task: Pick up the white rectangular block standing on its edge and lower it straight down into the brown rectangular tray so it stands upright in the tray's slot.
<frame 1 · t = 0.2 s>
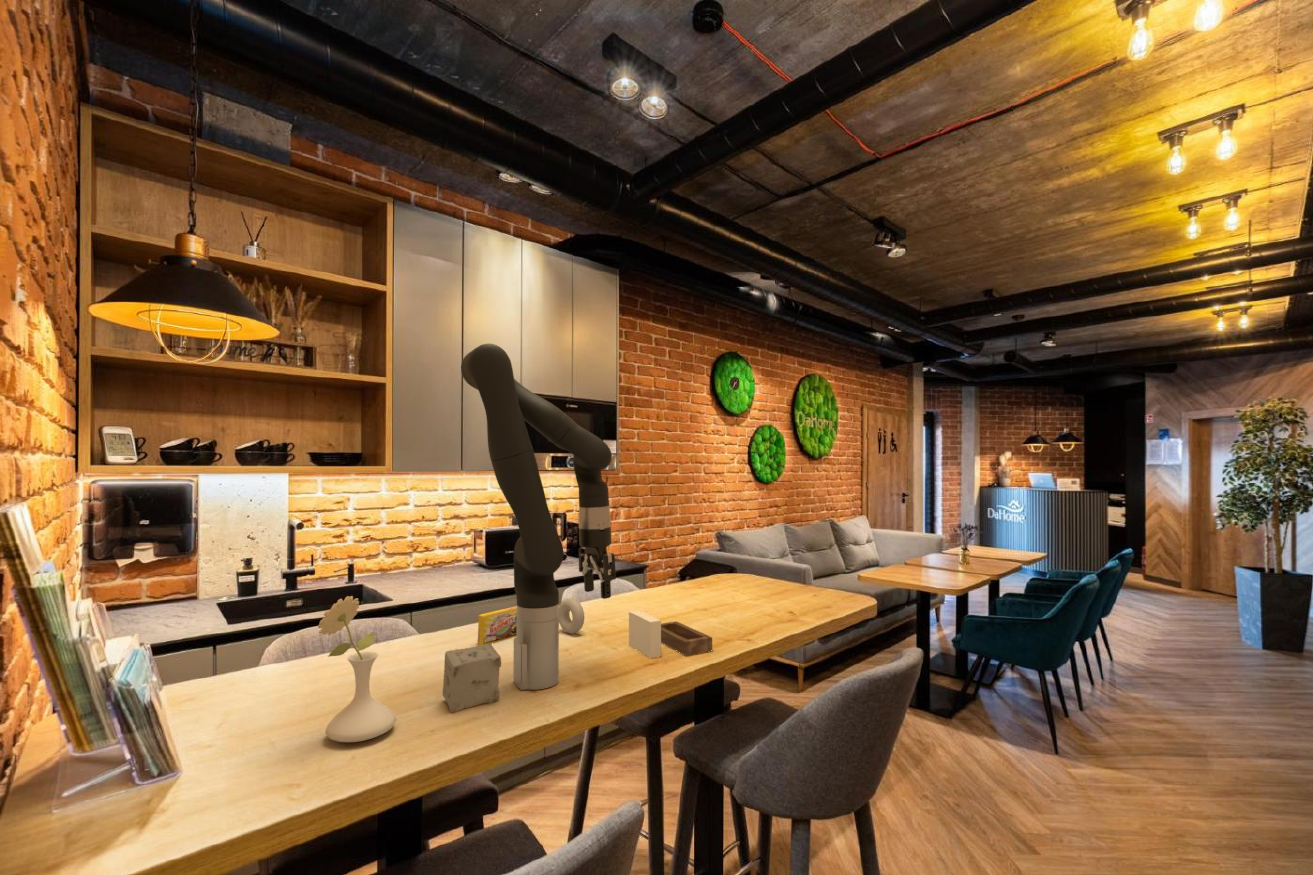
hand: (597, 594, 139), 18 cm above the table, tool pointing down, fingers open, 8 cm apart
candy box: (504, 640, 163), on the table
donut: (570, 634, 168), on the table
white rectangular block: (644, 651, 153), on the table
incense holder: (471, 703, 120), on the table
flower in vase: (356, 737, 105), on the table
brown rectangular tray: (680, 644, 158), on the table
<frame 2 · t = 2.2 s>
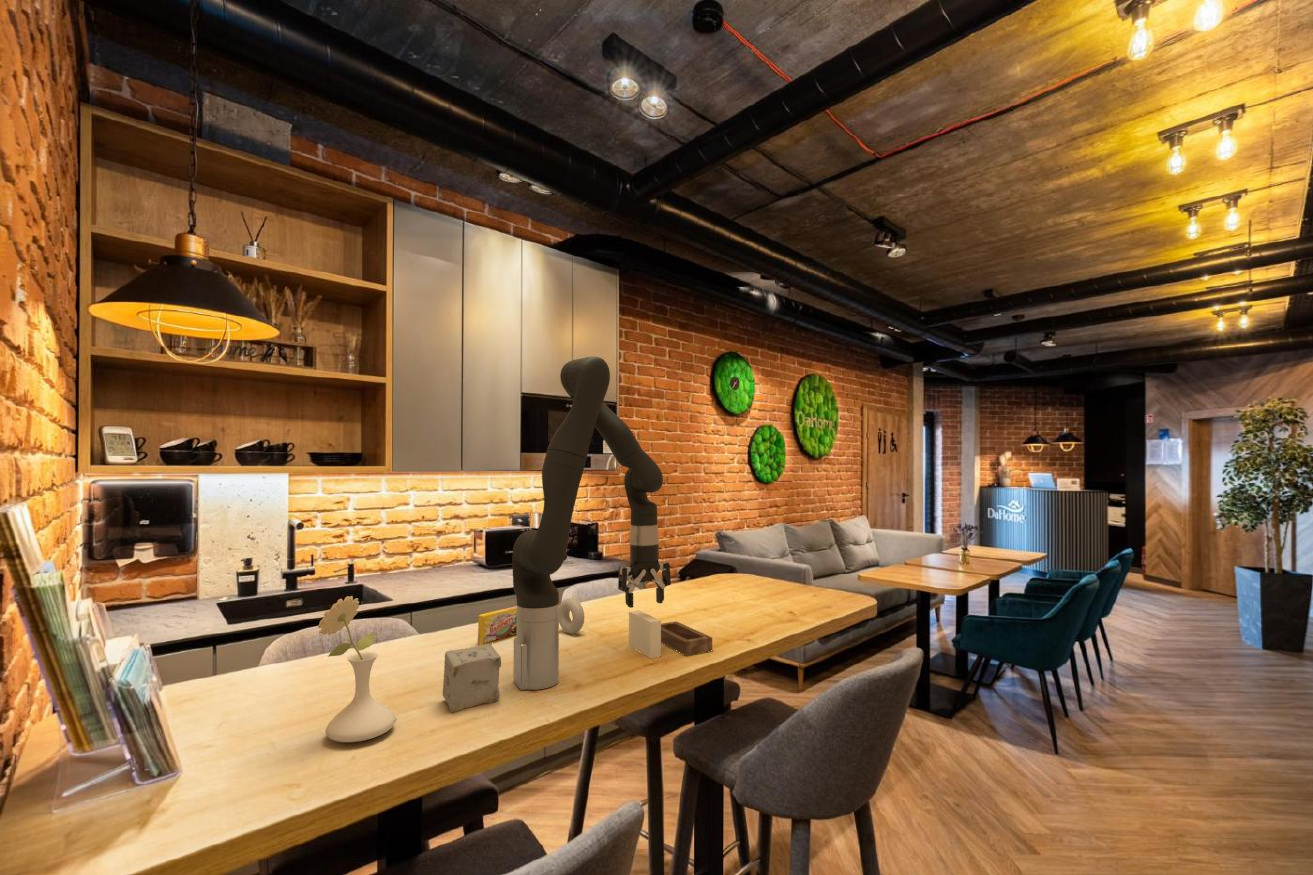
hand: (645, 604, 153), 12 cm above the table, tool pointing down, fingers open, 8 cm apart
nothing on the table moved.
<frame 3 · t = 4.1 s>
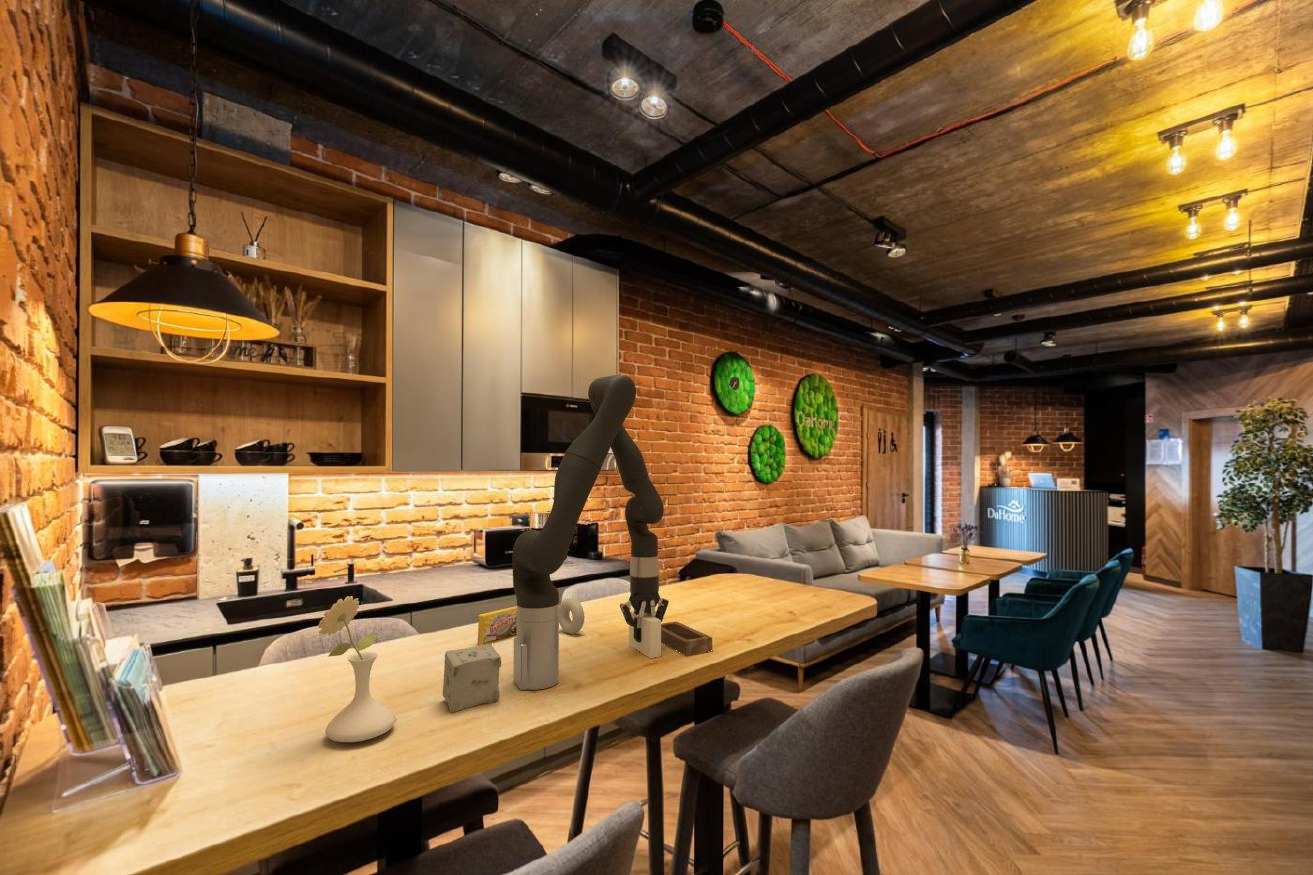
hand: (644, 640, 153), 3 cm above the table, tool pointing down, fingers closed on white rectangular block, 3 cm apart
white rectangular block: (644, 650, 153), on the table, touching gripper
everything else where it was.
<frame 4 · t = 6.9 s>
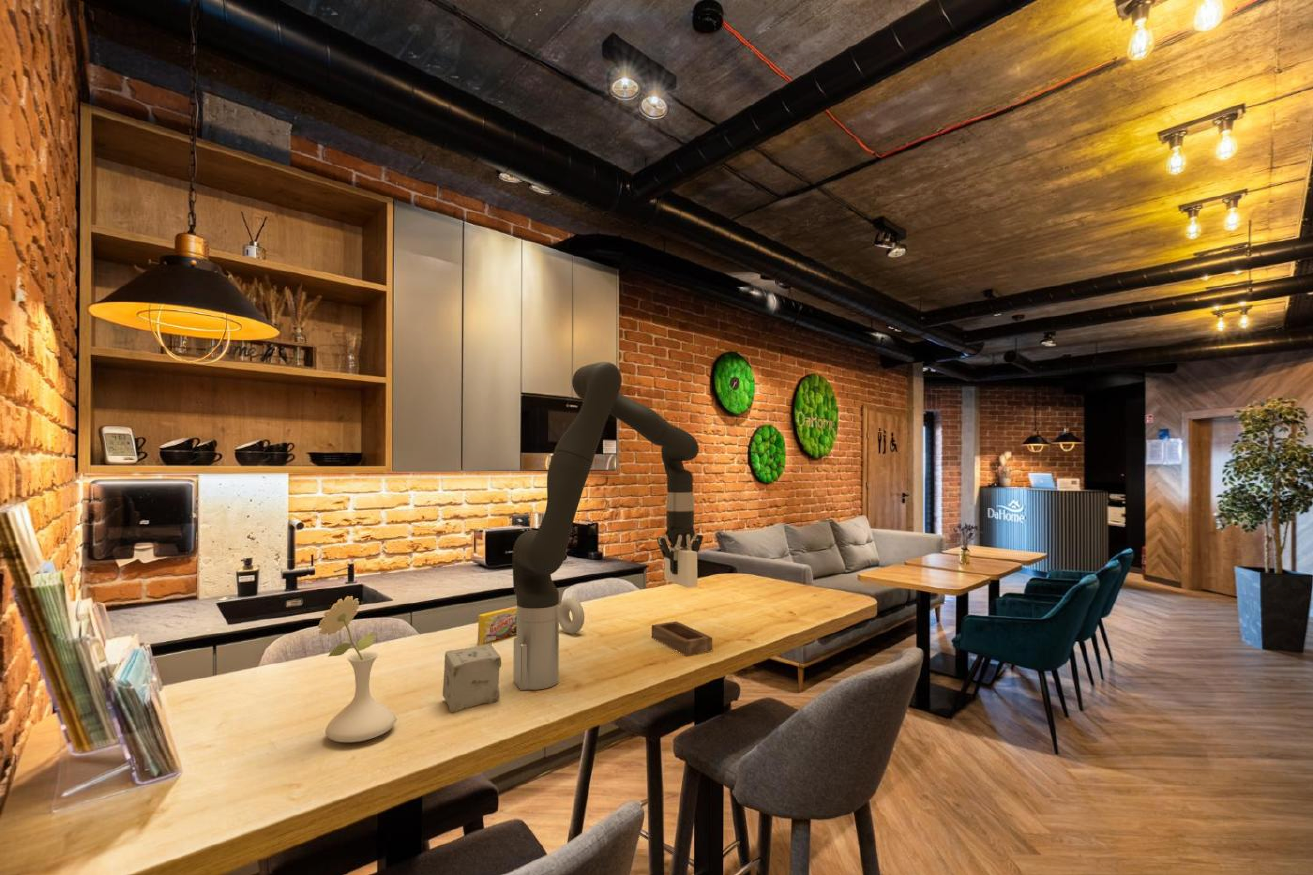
hand: (680, 573, 159), 19 cm above the table, tool pointing down, fingers closed on white rectangular block, 3 cm apart
white rectangular block: (680, 583, 159), point 16 cm above the table, touching gripper
everything else where it was.
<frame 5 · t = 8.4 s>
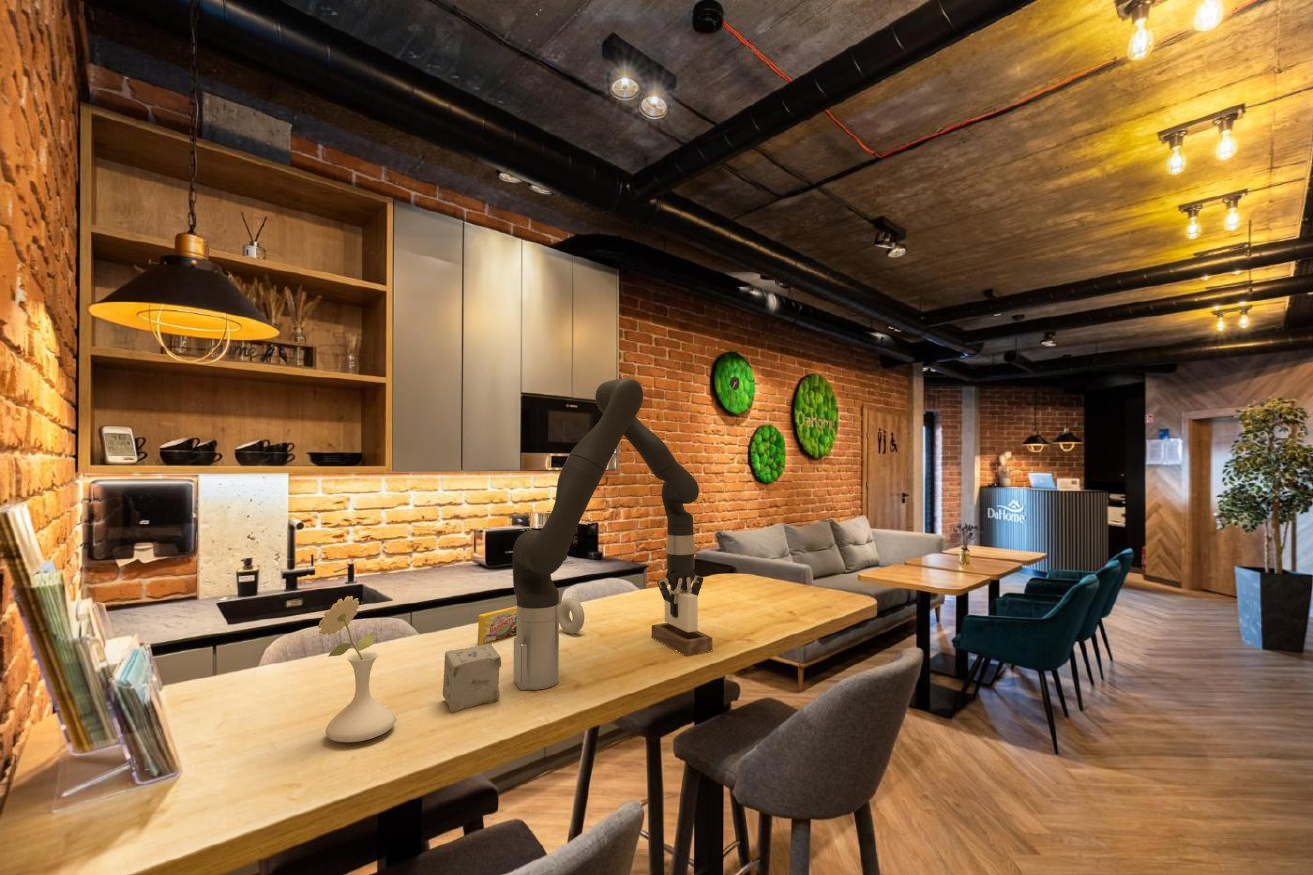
hand: (680, 615, 158), 7 cm above the table, tool pointing down, fingers closed on white rectangular block, 3 cm apart
white rectangular block: (680, 626, 158), point 5 cm above the table, touching gripper
everything else where it was.
when the fingers open (4 cm above the table, at t = 9.7 s): white rectangular block stays where it is, resting on brown rectangular tray.
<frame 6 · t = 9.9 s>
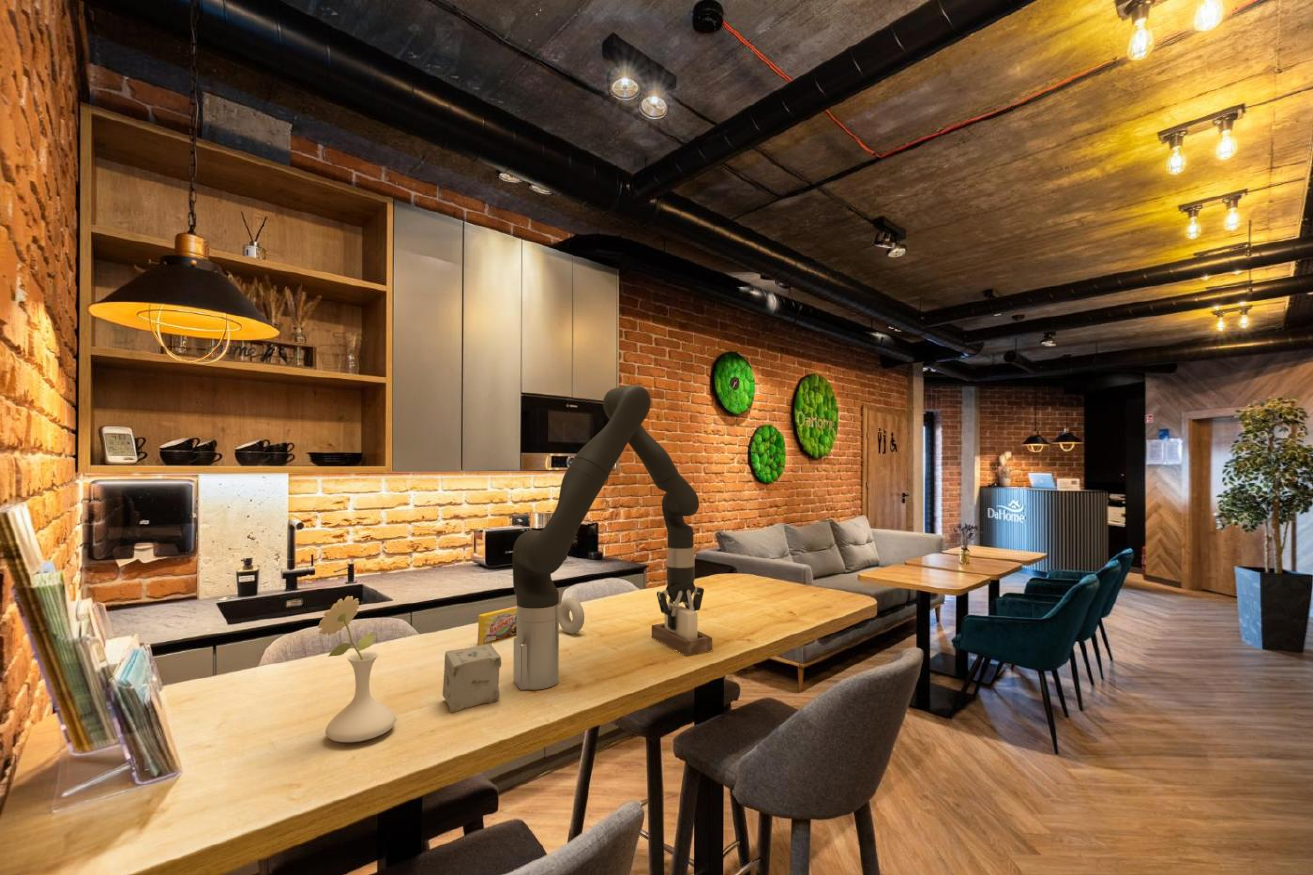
hand: (680, 628, 158), 4 cm above the table, tool pointing down, fingers open, 4 cm apart
white rectangular block: (680, 642, 158), resting on brown rectangular tray
everything else where it was.
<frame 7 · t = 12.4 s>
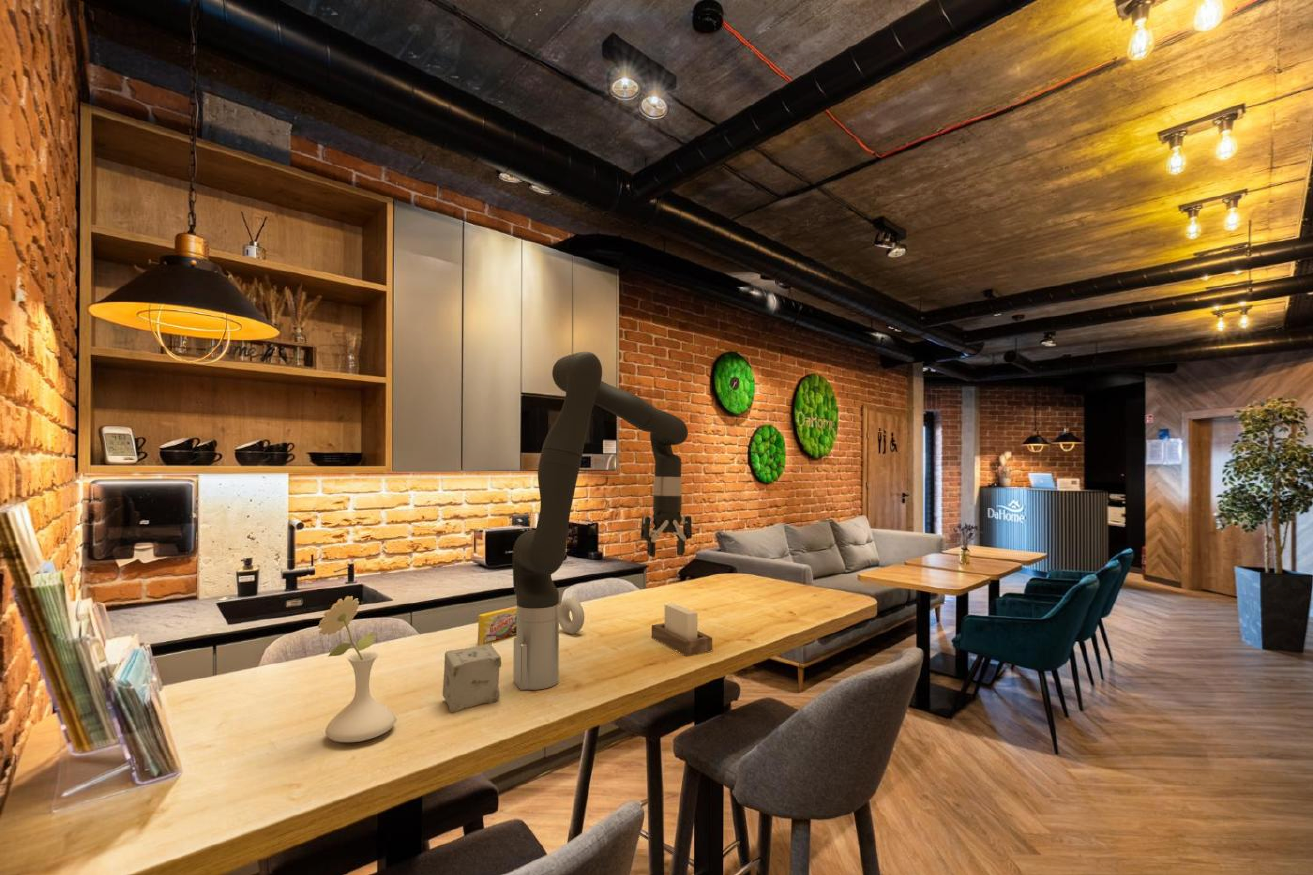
hand: (666, 555, 155), 24 cm above the table, tool pointing down, fingers open, 8 cm apart
nothing on the table moved.
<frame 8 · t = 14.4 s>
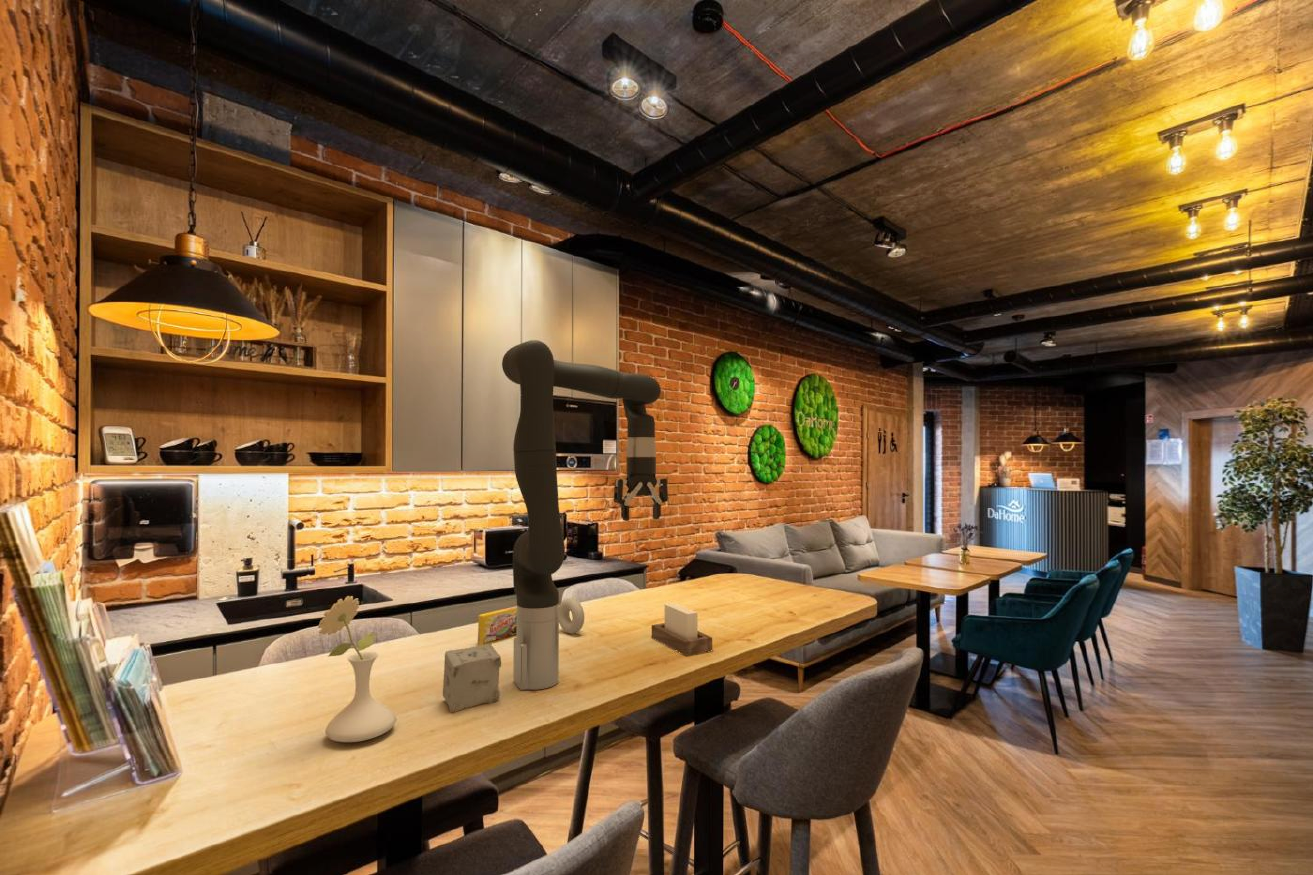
hand: (641, 519, 149), 34 cm above the table, tool pointing down, fingers open, 8 cm apart
nothing on the table moved.
at the end: white rectangular block 0.1 cm off-centre on the brown rectangular tray, point 0.5 cm above the brown rectangular tray's base; white rectangular block tilted 0°; the gripper is holding nothing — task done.
